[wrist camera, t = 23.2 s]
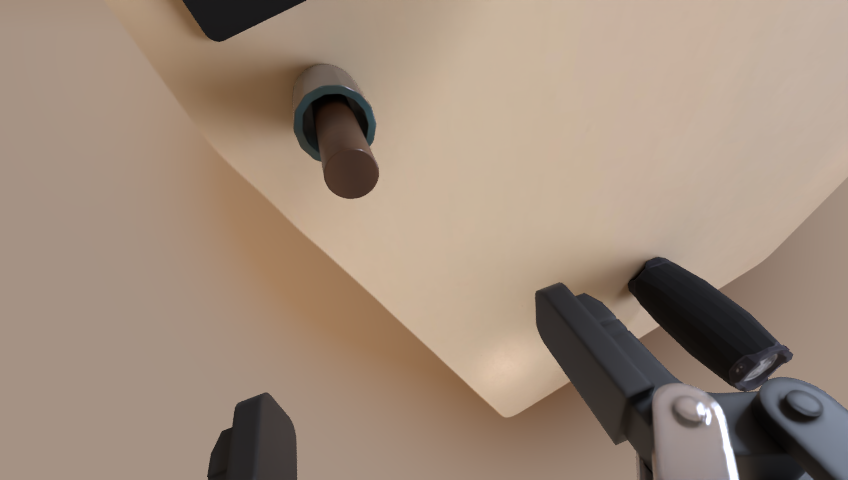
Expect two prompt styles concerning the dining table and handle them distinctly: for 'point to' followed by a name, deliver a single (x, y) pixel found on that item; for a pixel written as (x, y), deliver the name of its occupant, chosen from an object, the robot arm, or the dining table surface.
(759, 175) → the dining table surface
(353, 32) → the dining table surface
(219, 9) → the smartphone
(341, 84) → the holder
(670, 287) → the portable speaker
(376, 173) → the stirring stick
